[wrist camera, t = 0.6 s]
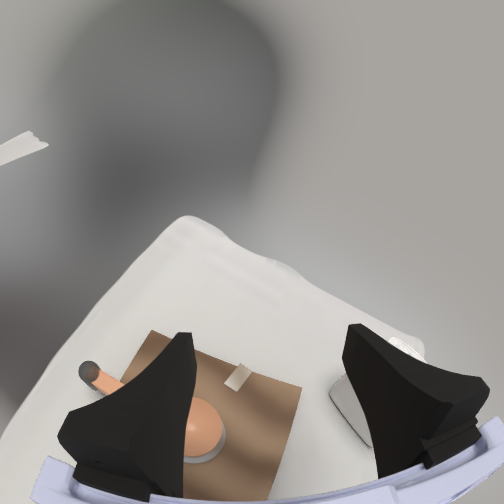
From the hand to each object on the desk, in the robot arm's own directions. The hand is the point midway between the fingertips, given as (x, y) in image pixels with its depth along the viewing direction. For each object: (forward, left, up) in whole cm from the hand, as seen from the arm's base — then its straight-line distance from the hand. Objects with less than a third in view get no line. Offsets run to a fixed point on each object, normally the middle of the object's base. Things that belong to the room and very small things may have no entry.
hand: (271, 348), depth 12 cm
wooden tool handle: (-3, +7, -15) cm, 17 cm away
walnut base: (-3, +3, -18) cm, 19 cm away
